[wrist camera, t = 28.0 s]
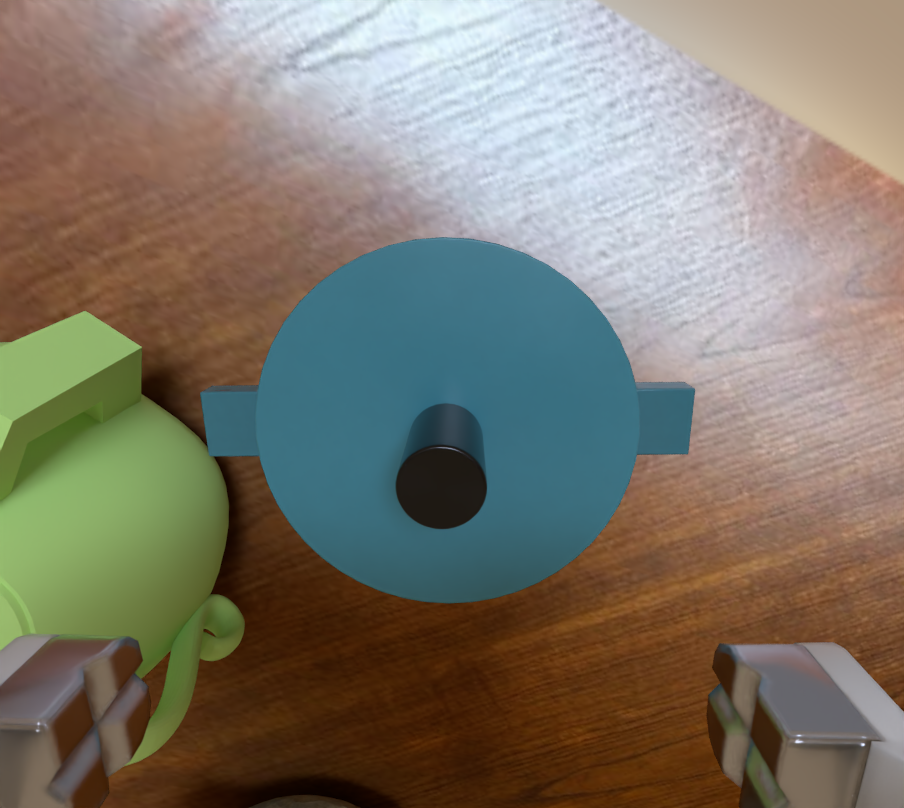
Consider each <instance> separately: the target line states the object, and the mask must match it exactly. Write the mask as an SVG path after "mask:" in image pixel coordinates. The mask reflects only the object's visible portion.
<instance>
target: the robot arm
mask: <svg viewBox="0 0 904 808" xmlns="http://www.w3.org/2000/svg"><path fill="white" fill-rule="evenodd" d="M142 662H143V658H142V654H141V650H140V646H139V642H138V641H137V640H135V639H133V638H131V637H129V636H105V635H77V634H62V635H58V634H26V635H23V636H20V637H17V638H15V639H14V640H12V641H11V642H10V643H9V644H8V645H7V646H5V647H4V648H3V649H2V650H1V651H0V808H100V806H101V805H102V803H103V802H104V800H105V799H106V797H107V796H108V794H109V779H108V777H109V776H110V775H112V774H113V773H115V772H116V771H117V770H119V769H120V768H122V767H123V766H124V765H126V764H127V763H129V762H130V761H131V759H132V758H133V756H134V754H135V753H136V751H137V750H138V748H139V746H140V745H141V743H142V741H143V738H144V735H145V732H146V729H147V726H148V723H149V720H150V709H151V699H150V693H149V687H148V686H147V685H146V684H145V683H144V682H143V681H142V680H141V679H140V678H139V677H138V676H137V675H136V674H135V673H136V671H137V670H138V668H139V667H140V665H141V663H142ZM712 668H713V670H714V672H715V674H716V676H717V677H718V679H719V681H720V684H719V685H718V686H717V687H716V688H715V689H714V690H713V691H712V692H711V693H710V694H709V695H708V705H707V715H706V716H707V724H708V732H709V738H710V742H711V745H712V748H713V751H714V755H715V757H716V759H717V761H718V763H719V766H720V768H721V770H722V772H723V774H725V775H726V776H727V777H728V778H730V779H731V780H732V781H733V782H734V783H736V784H737V785H738V786H739V787H740V788H741V794H740V801H739V808H904V712H903V711H902V710H901V709H900V707H899V706H898V705H897V704H896V703H895V702H894V701H893V700H892V699H891V698H890V697H889V696H888V695H887V693H886V692H885V691H884V690H883V689H882V688H881V687H880V686H879V685H878V684H877V683H876V682H875V681H874V679H873V678H872V677H871V676H870V675H869V674H868V673H867V672H866V671H865V670H864V669H863V668H862V667H861V665H860V664H859V663H858V662H857V661H856V660H855V659H854V658H853V657H852V656H851V655H850V654H849V652H848V651H847V650H846V649H845V648H843V647H841V646H840V645H838V644H836V643H834V642H817V643H794V644H729V643H720V644H719V645H718V647H717V649H716V651H715V654H714V660H713V666H712Z"/></svg>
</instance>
